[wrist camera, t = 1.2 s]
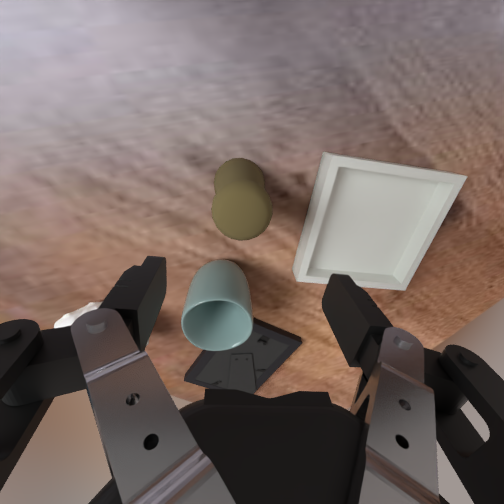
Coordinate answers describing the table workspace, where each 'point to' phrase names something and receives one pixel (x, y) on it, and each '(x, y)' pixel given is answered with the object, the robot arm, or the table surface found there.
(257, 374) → the picture frame
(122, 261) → the table surface
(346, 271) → the tray
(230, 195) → the olive rounded piece
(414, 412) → the robot arm
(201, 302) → the cup
